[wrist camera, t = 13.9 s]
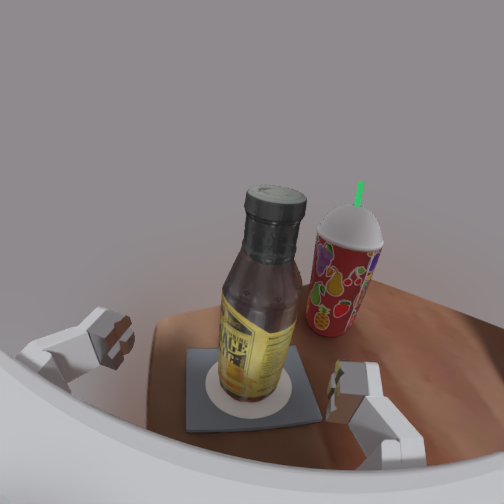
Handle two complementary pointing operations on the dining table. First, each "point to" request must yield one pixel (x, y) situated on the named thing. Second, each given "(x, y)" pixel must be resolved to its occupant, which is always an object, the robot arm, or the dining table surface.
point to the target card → (246, 413)
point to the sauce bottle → (261, 295)
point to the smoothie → (342, 266)
